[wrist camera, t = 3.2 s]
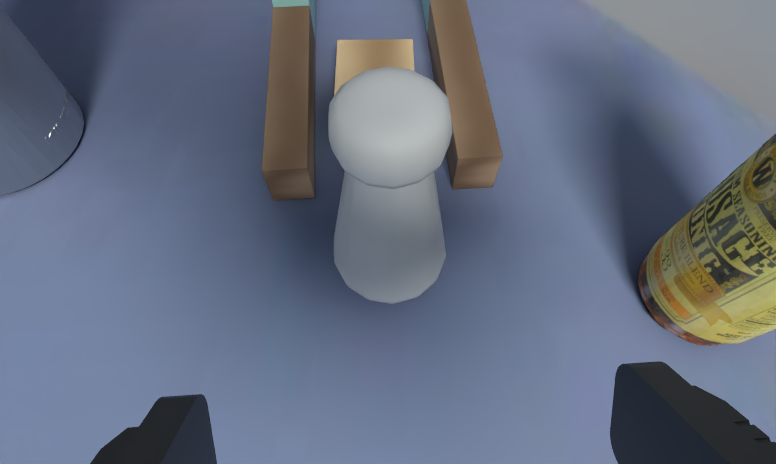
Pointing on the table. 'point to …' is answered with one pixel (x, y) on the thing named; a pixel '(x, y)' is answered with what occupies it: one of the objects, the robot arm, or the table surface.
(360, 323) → the table surface
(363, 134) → the salt shaker
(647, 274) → the sauce bottle
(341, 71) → the block
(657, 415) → the robot arm
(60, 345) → the table surface
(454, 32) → the slot
